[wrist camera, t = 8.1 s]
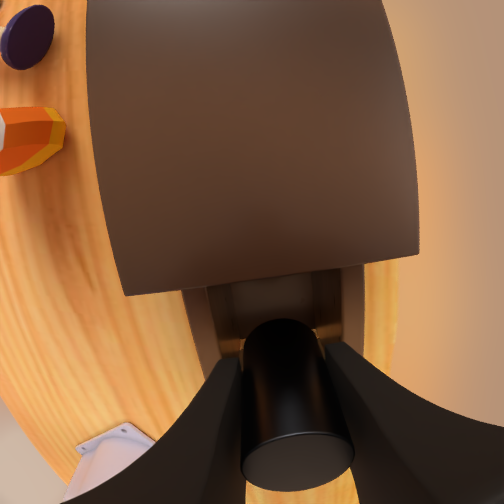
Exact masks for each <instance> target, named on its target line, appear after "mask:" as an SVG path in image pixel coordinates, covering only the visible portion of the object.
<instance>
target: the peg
mask: <svg viewBox="0 0 504 504" xmlns="http://www.w3.org/2000/svg"><path fill="white" fill-rule="evenodd" d="M354 457H355V448H354V444H353V441H352V438H351V435H350V432H349V429H348V426H347V423H346V420H345V417H344V415H343V412H342V409H341V406H340V403H339V400H338V397H337V394H336V391H335V388H334V385H333V383H332V380H331V377H330V374H329V371H328V368H327V366H326V363H325V360H324V357H323V354H322V352H321V349H320V346H319V343H318V340H317V338H316V336H315V334H314V332H313V331H312V330H311V329H310V328H309V327H308V326H307V325H306V324H304V323H302V322H300V321H297V320H294V319H288V318H280V319H273V320H270V321H267V322H264V323H262V324H261V325H259V326H257V327H256V328H255V329H254V330H253V331H252V332H251V333H250V334H249V335H248V337H247V339H246V341H245V343H244V348H243V379H242V414H241V451H240V470H241V473H242V475H243V476H244V477H245V479H246V480H247V481H249V482H250V483H251V484H253V485H255V486H257V487H260V488H263V489H267V490H272V491H280V492H291V491H301V490H307V489H311V488H315V487H318V486H321V485H323V484H326V483H328V482H330V481H332V480H334V479H336V478H337V477H339V476H340V475H342V474H343V473H344V472H345V471H346V470H347V469H348V468H349V467H350V465H351V464H352V462H353V460H354Z"/></svg>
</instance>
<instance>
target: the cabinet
mask: <svg viewBox="0 0 504 504" xmlns="http://www.w3.org/2000/svg"><path fill="white" fill-rule="evenodd" d="M86 73H87V92H88V105H89V117H90V127H91V136H92V144H93V151H94V159H95V165H96V172H97V178H98V184H99V190H100V195H101V200H102V206H103V211H104V215H105V220H106V225H107V229H108V234H109V238H110V242H111V247H112V251H113V255H114V259H115V263H116V266H117V270H118V274H119V278H120V281H121V285H122V288H123V292H124V295H125V296H134V295H143V294H151V293H160V292H168V291H177V290H185V289H193V288H201V287H209V286H217V285H224V284H232V283H239V282H246V281H254V280H261V279H268V278H275V277H282V276H289V275H296V274H302V273H309V272H315V271H322V270H328V269H335V268H341V267H347V266H354V265H360V264H366V263H372V262H378V261H384V260H390V259H396V258H401V257H407V256H413V255H418V254H419V203H418V202H419V201H418V183H417V171H416V160H415V150H414V141H413V134H412V126H411V120H410V114H409V107H408V102H407V96H406V91H405V86H404V81H403V76H402V71H401V67H400V63H399V59H398V55H397V51H396V47H395V43H394V39H393V36H392V32H391V29H390V25H389V22H388V19H387V16H386V13H385V9H384V6H383V4H382V0H87V14H86Z"/></svg>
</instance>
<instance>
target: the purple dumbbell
mask: <svg viewBox="0 0 504 504" xmlns="http://www.w3.org/2000/svg"><path fill="white" fill-rule="evenodd" d="M54 25H55V23H54V17H53V14H52V12H51V11H50V9H48V8H47V7H46V6H44V5H33V6H30V7H28V8H25V9H23V10H22V11H20V12H19V13H17V14H16V15H15V16H14V17H13V18H12V19H11V20H10V21H9V23H8V24H7V25H6V26H5V27H0V52H1V56H2V58H3V60H4V61H5V63H6V64H7V65H9V66H10V67H12V68H14V69H17V70H25V69H28V68H31V67H33V66H34V65H36V64H37V63H38V62H39V61H40V60H41V59H42V58H43V57H44V55H45V54H46V52H47V50H48V49H49V46H50V44H51V41H52V38H53V34H54Z"/></svg>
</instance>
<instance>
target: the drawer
mask: <svg viewBox="0 0 504 504" xmlns="http://www.w3.org/2000/svg"><path fill="white" fill-rule="evenodd" d="M181 292H182V297H183V301H184V305H185V309H186V313H187V316H188V320H189V324H190V328H191V332H192V335H193V339H194V343H195V346H196V350H197V354H198V357H199V361H200V364H201V368H202V371H203V374H204V378H205V381H206V379H207V378H208V376H209V374H210V373H211V371H212V369H213V368H214V366H215V364H216V363H217V361H218V360H219V359H227V358H237V357H239V360H240V365H241V370H242V374H243V350H240V339H246V338H247V337H248V335H249V334H250V333H251V332H252V331H253V330H254V329H255V328H256V327H257V326H259V325H261V324H262V323H264V322H267V321H270V320H273V319H280V318H288V319H294V320H297V321H300V322H302V323H304V324H306V325H307V326H308V327H309V328H310V329H316V331H317V334H318V336H319V339H317V340H318V343H319V346H320V349H321V352H322V354H323V357H324V360H325V345H327V344H333V343H338V342H343V341H344V342H345V343H347V344H348V345H349V346H350V347H352V348H353V349H354V350H355V351H356V352H358V353H359V354H360V355H361V356H362V357H363V351H364V318H365V279H364V264H360V265H354V266H347V267H341V268H335V269H328V270H322V271H315V272H309V273H302V274H296V275H289V276H282V277H275V278H268V279H261V280H254V281H246V282H239V283H232V284H224V285H217V286H209V287H201V288H193V289H185V290H181Z"/></svg>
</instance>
